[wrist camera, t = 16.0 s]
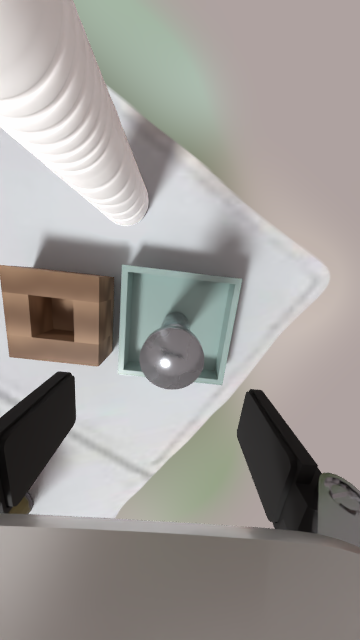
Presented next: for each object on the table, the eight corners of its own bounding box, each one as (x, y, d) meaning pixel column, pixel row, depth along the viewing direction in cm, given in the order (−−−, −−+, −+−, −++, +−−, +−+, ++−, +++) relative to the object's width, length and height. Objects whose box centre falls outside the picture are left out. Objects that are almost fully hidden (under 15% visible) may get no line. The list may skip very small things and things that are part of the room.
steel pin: (159, 304, 26) (141, 325, 14) (196, 308, 26) (209, 333, 15) (156, 339, 28) (137, 385, 16) (191, 343, 28) (199, 392, 16)
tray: (129, 266, 26) (121, 264, 22) (234, 278, 26) (242, 278, 23) (125, 363, 29) (117, 374, 26) (217, 372, 30) (222, 385, 26)
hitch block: (32, 267, 26) (-2, 265, 21) (114, 277, 26) (99, 276, 21) (38, 343, 29) (9, 357, 24) (112, 351, 29) (98, 366, 24)
